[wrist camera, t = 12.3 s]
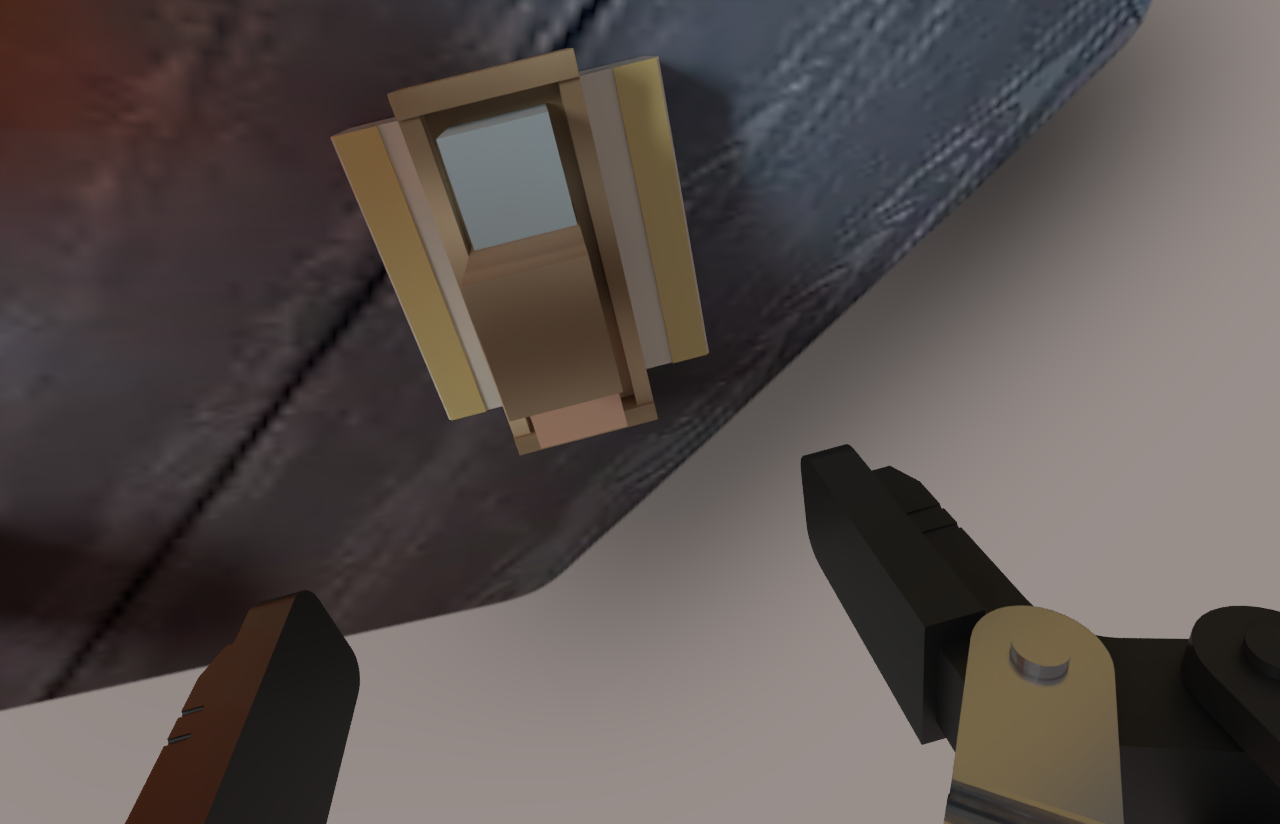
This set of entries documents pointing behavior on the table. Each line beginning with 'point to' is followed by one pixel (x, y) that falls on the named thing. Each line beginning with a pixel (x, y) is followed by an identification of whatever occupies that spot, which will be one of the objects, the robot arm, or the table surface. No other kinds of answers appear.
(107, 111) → the table surface
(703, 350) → the strip
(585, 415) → the block
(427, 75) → the table surface
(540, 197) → the block
